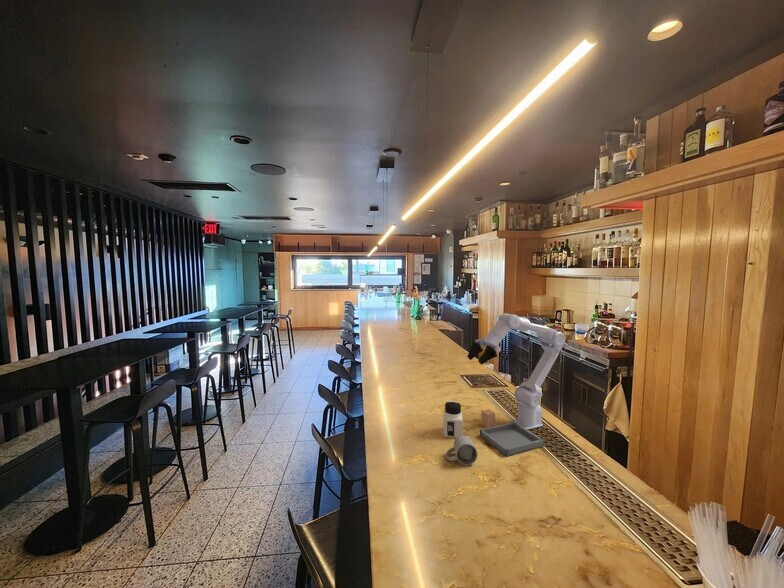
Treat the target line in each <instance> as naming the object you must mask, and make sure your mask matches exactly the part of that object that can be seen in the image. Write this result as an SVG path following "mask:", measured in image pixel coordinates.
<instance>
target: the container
mask: <svg viewBox="0 0 784 588" xmlns="http://www.w3.org/2000/svg"><path fill="white" fill-rule="evenodd" d="M442 420H443V422H442V423H443V425H442V430H443V431H442V433H443V435H442V436H443V437H445V438H455V439H456V438H457V437H458V436H461V435H464V434H463V424H464V423H463V412H462V404H461V403H460V402H458V401H456V400H449V401H447V402H445V404H444V411H443V419H442Z"/></svg>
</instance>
